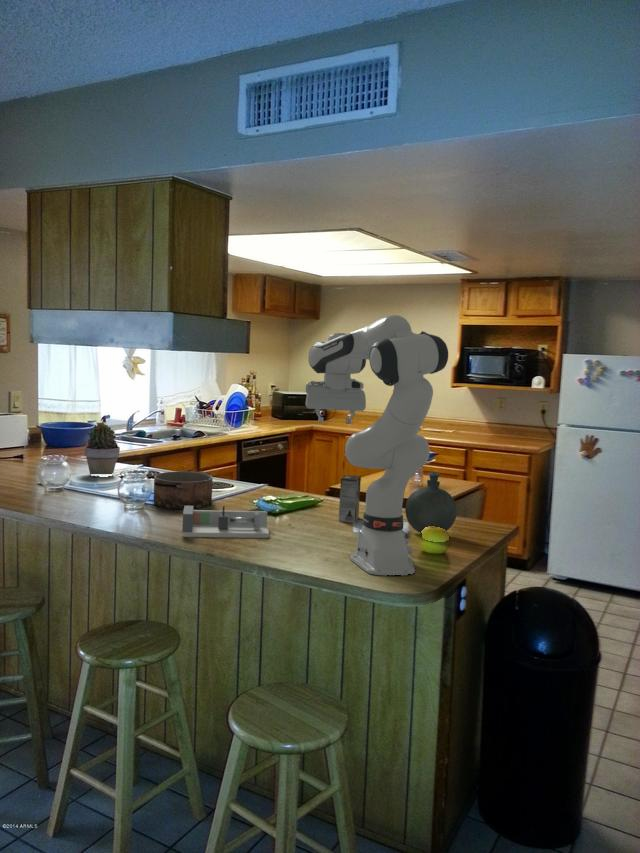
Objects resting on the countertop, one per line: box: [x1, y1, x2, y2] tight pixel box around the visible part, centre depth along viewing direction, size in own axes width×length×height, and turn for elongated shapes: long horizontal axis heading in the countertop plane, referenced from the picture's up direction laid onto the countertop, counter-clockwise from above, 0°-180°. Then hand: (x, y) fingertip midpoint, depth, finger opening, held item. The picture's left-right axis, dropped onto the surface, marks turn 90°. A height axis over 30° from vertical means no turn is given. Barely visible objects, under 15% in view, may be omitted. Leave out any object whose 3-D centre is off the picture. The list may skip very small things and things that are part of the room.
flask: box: [404, 471, 458, 534], centre depth 242 cm, size 12×17×22 cm
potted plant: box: [83, 422, 121, 475], centre depth 316 cm, size 18×20×25 cm
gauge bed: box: [181, 506, 270, 539], centre depth 230 cm, size 12×28×8 cm, turn 99°
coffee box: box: [338, 474, 362, 523], centre depth 258 cm, size 9×6×16 cm
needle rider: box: [218, 505, 228, 529], centre depth 230 cm, size 5×3×7 cm, turn 9°
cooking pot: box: [153, 470, 214, 510], centre depth 270 cm, size 30×22×11 cm
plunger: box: [230, 510, 259, 530], centre depth 231 cm, size 6×10×5 cm, turn 99°
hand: (334, 423), depth 233 cm, fingers open, 8 cm apart
